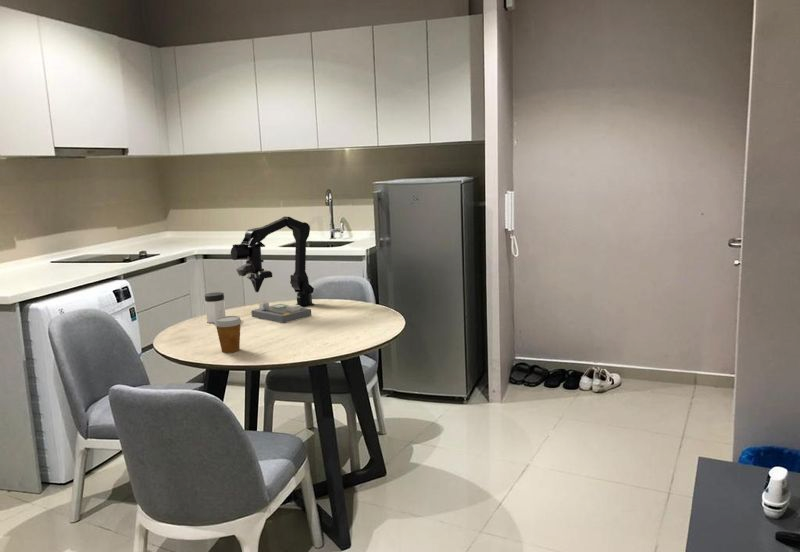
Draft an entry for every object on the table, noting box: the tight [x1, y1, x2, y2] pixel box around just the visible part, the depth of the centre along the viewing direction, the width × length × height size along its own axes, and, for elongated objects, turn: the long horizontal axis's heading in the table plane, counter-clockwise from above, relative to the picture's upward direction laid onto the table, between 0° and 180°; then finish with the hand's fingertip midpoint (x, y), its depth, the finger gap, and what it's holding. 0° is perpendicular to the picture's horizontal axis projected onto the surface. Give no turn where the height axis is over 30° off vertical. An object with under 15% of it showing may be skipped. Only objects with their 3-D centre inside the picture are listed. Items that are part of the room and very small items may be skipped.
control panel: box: [251, 303, 312, 324], centre depth 291 cm, size 16×22×3 cm
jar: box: [204, 291, 227, 324], centre depth 288 cm, size 9×8×12 cm
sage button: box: [272, 304, 286, 309], centre depth 297 cm, size 4×4×2 cm
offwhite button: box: [286, 304, 302, 312], centre depth 290 cm, size 4×4×2 cm
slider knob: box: [258, 301, 270, 310], centre depth 291 cm, size 3×3×3 cm
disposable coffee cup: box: [214, 315, 242, 354], centre depth 239 cm, size 10×10×12 cm
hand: (257, 292), depth 295 cm, fingers closed
